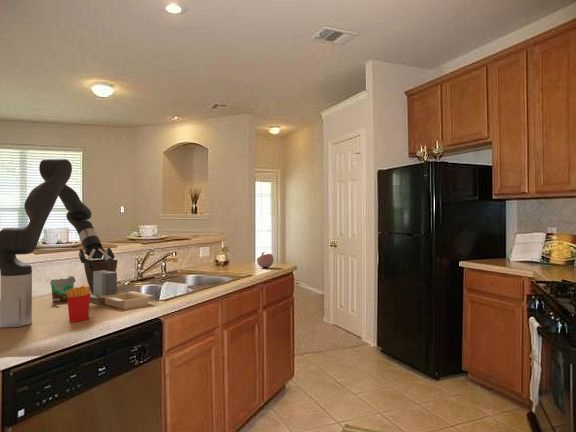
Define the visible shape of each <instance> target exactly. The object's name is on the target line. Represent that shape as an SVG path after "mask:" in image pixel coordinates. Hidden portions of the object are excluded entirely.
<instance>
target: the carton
mask: <svg viewBox="0 0 576 432" xmlns="http://www.w3.org/2000/svg"><path fill="white" fill-rule="evenodd" d="M99 297H102V298H105V303H104V304H105V305H108V306H111V307H115V308H119V309H123V310H126V309H127V310H128V309H133V308H139V307H145V306H149V298H152V297H154V295H152V294H148V293H143V292H138V291H134V290H131V291H128V292H124V293H119V294H115V295H108V296H106V295H103V296H99Z"/></svg>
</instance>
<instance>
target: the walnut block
mask: <svg viewBox="0 0 576 432" xmlns="http://www.w3.org/2000/svg"><path fill="white" fill-rule="evenodd" d="M117 294H120V293H119V292H117ZM90 303H93V304H95V305H103V304H105V298H102V297H99V296H97V295H94V294H92V293H91V294H90Z"/></svg>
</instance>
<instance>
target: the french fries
mask: <svg viewBox="0 0 576 432" xmlns="http://www.w3.org/2000/svg"><path fill="white" fill-rule="evenodd" d="M89 291H90V287H89V285H88V286H85V285H82V286H78V287H76V286H74V288H71V289H70V290H69V289H68V290H67V291H66V292H67V295H68V297H67V308H68V309H67V311H68V318H69V320H68V321H69V322H70V323H79V322H83V321H88V319H89V316H90V315H89V314H90V304H91V302H90V295H91V293H89Z"/></svg>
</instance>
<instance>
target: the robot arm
mask: <svg viewBox="0 0 576 432" xmlns="http://www.w3.org/2000/svg"><path fill="white" fill-rule="evenodd" d="M38 170H39V173H40V176H41V178H42V179H43V181H44V182H42V183H40V184H38V185H37V186H35V187H34V188H33V189H32V190H31V191H30V192H29V193H28V196H27V197H26V199H25V201H24V204H23V205H24V211H25V213H26V216H27V217H28V219H29V223H28V224H27V226H24V227H3V228H2V229H1V230H0V328H20V327H22V326H23V327H24V326H27V325H30V324H32V323H33V267H32V265H30V263H25V262H23V261H21V260H20V259H18V257H17V255H30V254H32V253H33V252H34V251H35V250H36V248H37V246H38V245H39V244H38V243H39V240H40V238H41V236H42V231H43V229H44V226H45V224H46V222H47V221H48V218H49V215H50V214H51V212H52V210H53V208H54V206H55V205H56V203H57V199H58V198H59V199H60V200H61V202H62V204H63V206H64V207H65V210H67V212H66V216H65V217H66V219H67V221H68V223H69V224H71V225H72V226H73V227H74V229H75V231H76V232H77V235H78V236H79V242H80V244H81V246H82V248H83V249H82V248H81V249H79V252H78V257H79V260H80V263H81V264H84V263H86V264H87V266H88V268H89V269H90V270H93V268H94V266H93V264H92V261H90V260H100V259H102V260H105V261H107V263H108V266H109V268H112V266H113V262H112V261H113V260H115V255H114V252H113V251H112V249H111V247H107V248H103V244H102V242H101V240H100V238H99V235H98V233H97V232H96V230H95V227H94V226H93V224H92V222H91V221H89V220H90V219H91V217H92V211H91V209H90V208H89V207H88V206H87V205H86V204H84V203H83V202H82V201H81V199H80V196H79V195H78V193H77V192H76V191H75V189H73V188H72V187H70V186H69V185H68V184H67V183H68V181H69V180H70V178H71V176H72V172H73V165H72V163H71V162H70V160H68V159H66V158H44V159H42V160H40V163H39V168H38ZM86 256H88V257H87V258H86Z"/></svg>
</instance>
